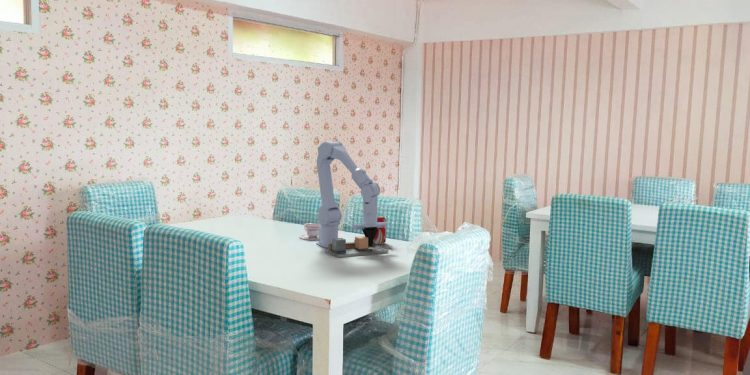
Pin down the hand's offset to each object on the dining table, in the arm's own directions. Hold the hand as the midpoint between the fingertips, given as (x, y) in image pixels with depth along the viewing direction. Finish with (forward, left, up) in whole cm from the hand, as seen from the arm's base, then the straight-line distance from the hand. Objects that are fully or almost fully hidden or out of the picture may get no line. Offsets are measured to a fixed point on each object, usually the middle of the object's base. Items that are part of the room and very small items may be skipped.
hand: (369, 245), depth 260 cm
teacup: (-37, -11, -3) cm, 38 cm away
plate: (0, -6, -2) cm, 6 cm away
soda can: (-13, +10, -2) cm, 17 cm away
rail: (-5, -6, -2) cm, 8 cm away
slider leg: (-1, -4, -1) cm, 4 cm away
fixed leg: (-1, -14, -1) cm, 14 cm away
